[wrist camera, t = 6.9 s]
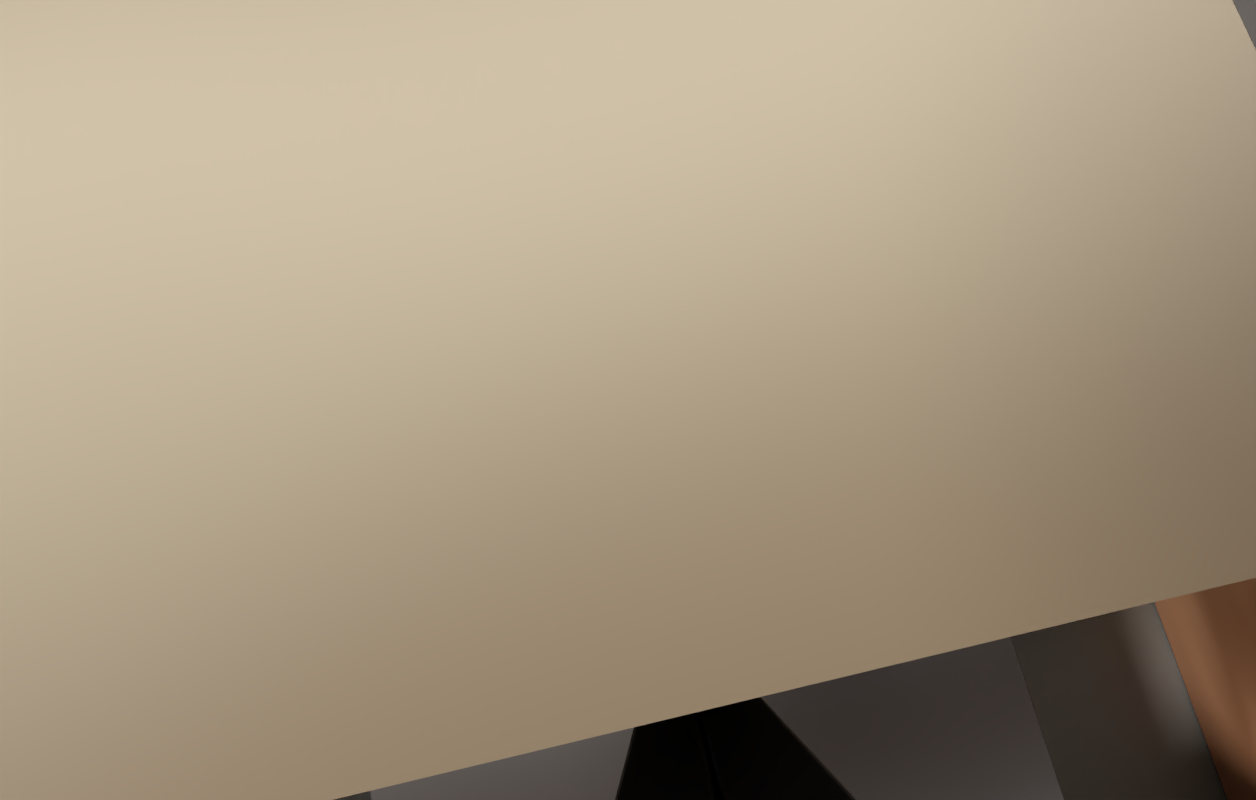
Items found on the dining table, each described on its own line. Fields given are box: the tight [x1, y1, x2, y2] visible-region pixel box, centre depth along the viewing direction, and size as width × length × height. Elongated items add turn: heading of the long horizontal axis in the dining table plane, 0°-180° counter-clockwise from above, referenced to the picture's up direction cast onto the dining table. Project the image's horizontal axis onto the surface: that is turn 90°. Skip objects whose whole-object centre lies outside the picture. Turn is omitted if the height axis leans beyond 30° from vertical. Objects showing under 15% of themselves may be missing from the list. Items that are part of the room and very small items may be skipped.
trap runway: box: [370, 578, 1256, 800], centre depth 14 cm, size 25×18×4 cm
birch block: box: [0, 0, 1256, 800], centre depth 10 cm, size 9×6×10 cm, turn 13°
